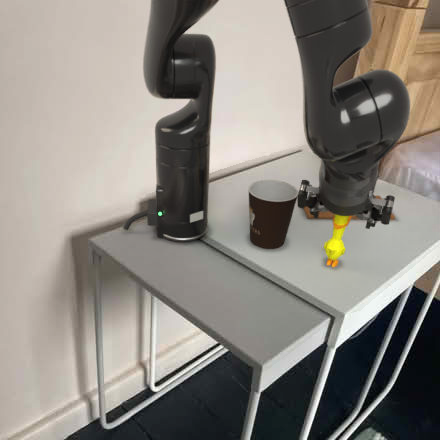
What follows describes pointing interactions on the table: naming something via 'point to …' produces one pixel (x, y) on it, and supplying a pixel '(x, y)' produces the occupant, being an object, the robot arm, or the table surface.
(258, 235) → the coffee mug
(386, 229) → the table surface
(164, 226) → the robot arm
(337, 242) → the toy figure
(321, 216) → the placemat
